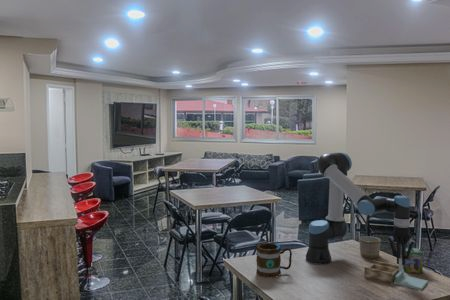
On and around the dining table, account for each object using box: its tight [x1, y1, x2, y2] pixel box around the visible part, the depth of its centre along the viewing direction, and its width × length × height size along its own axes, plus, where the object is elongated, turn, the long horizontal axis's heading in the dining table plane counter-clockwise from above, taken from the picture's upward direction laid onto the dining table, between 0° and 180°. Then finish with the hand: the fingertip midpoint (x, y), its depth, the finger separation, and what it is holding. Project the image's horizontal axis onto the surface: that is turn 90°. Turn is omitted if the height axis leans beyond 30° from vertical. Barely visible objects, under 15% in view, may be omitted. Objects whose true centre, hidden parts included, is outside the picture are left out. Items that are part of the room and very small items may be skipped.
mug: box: [256, 242, 293, 279], centre depth 213 cm, size 20×14×15 cm
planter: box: [358, 235, 381, 259], centre depth 241 cm, size 13×13×10 cm
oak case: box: [363, 259, 400, 284], centre depth 208 cm, size 14×14×5 cm
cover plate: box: [393, 270, 429, 291], centre depth 199 cm, size 13×12×4 cm
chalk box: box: [403, 242, 424, 274], centre depth 216 cm, size 9×9×15 cm
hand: (400, 270), depth 201 cm, fingers closed
